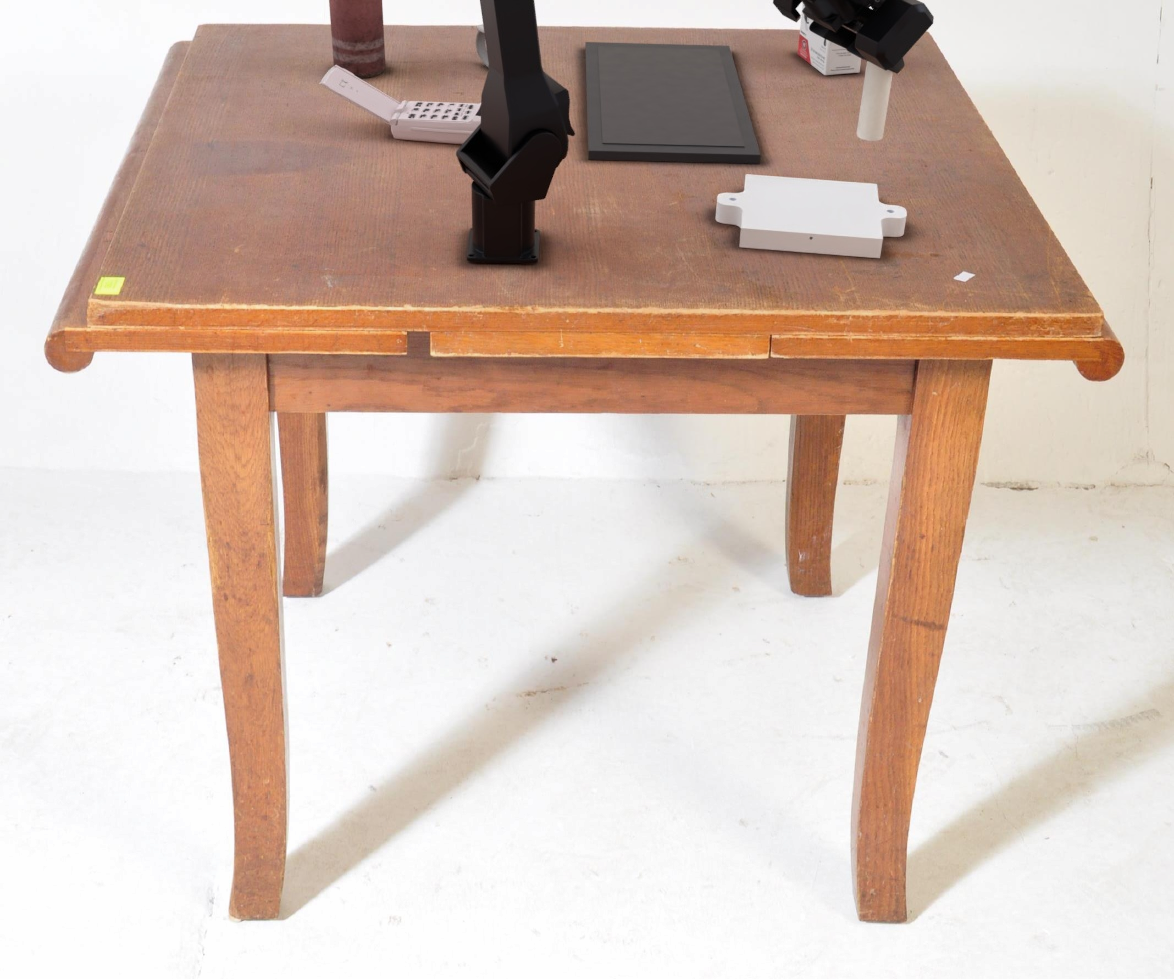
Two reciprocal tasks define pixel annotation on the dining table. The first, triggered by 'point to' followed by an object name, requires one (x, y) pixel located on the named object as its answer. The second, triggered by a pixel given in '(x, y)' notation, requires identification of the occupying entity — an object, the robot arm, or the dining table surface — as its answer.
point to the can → (358, 36)
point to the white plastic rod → (874, 103)
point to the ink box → (825, 52)
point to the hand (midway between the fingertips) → (891, 64)
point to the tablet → (666, 104)
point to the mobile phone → (407, 111)
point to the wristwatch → (481, 45)
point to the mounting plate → (811, 216)
